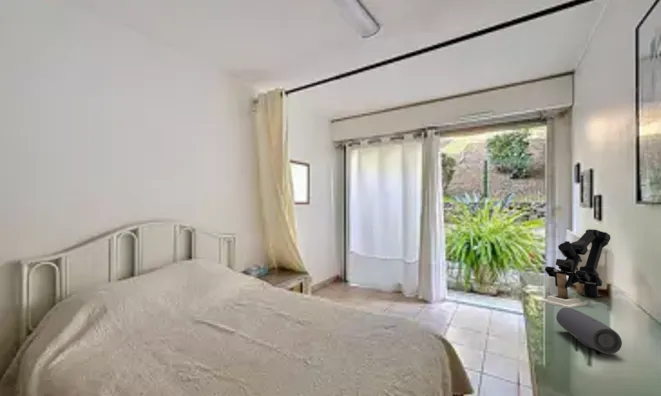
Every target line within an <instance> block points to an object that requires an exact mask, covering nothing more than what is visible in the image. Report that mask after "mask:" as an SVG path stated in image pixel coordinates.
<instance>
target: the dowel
mask: <svg viewBox="0 0 661 396" xmlns="http://www.w3.org/2000/svg"><path fill="white" fill-rule="evenodd" d="M567 280H568V277H567V276H566V274H563V273H557V286H558V298H561V299H565V300H566V299H568V296H569V295H568V293H569V292H568V288H565V284H566V282H567Z"/></svg>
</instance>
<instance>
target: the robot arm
mask: <svg viewBox="0 0 661 396" xmlns="http://www.w3.org/2000/svg"><path fill="white" fill-rule="evenodd" d="M610 241H611V235H610V234H609V233H608V232H606V231H600V230H598V229H591V228H589V229H588V228H587V229H586V230H585V233H584V234H582V235H581V237H579V238H578V240H576V241H572V242H570V240H569V241H567V240H566V241H564V242H562V243H559V245H557V247H558V248H557V249H558V250H559V251H560V253H561V254H562V256H563V257H565V259H561V258H556V261H555V266H558V269H557V268H556V267H555V266H548V265H547V266H546V267H545V268H544V271H545V273H546V274H547V276H551V277H555V285H556V287H557V273H563V274H566V277H567V276H568V277H567V282H566V284H565V288H567V289H568V288H569V287H571V286H573V285H574V284H577V283H579V284H580V285H582V284H583V290H584V291H583V293H581V296H584V295H586V297H590V298H595V299H596V298H599V297H602V296H603V295H601V294H599V289H598V287H602V286H603V280H602V279H601V278H600V276H599V275H600V274H599V272H598V270H597V269H598V265H599V261H600V258H601V256H602V252H603V249H604V248H605V247H606V246H607V245H608V244H609V242H610ZM590 244H591V247H590V249H589V253H588V246H589V245H590ZM587 253H588V256H587V259H586V263H585V265H583V266H580V267H579V268H578V266H579V263H582V262H583V260H582V258H581V256H585V255H586V254H587Z"/></svg>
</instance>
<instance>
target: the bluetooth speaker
mask: <svg viewBox="0 0 661 396" xmlns="http://www.w3.org/2000/svg"><path fill="white" fill-rule="evenodd" d="M556 321H557V323H558V324H559V326H560V327H562V328H563V329H564V330H565V331H567V332H568V333H569V334H570V335H571V336H572V337H574V338H575V340H576V339H577V340H576V341H578V342H579V343H580V344H582V345H583V344H584V346H585V347H586V348H588V347H589V348H588V349H590V348H592V349H591V350H593V349H595V351H598V352H600V353H602V354H605V355H613V354H616V353H617V352H619V351H620V350H621V348H622V345H623V341H622V338H621V335H620V334H619V333H618V332H617V331H615V330H614V329H612V328H611V327H610V326H608V325H607V324H605V323H603V322H601V321H599V320H598V319H595V318H594V317H592V316H590V315H588V314H586V313H584V312H582V311H581V310H580V311H579V310H578V309H576V308H564V307H561V308H560V309H559V310H558V311H557V313H556Z"/></svg>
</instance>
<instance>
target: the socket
mask: <svg viewBox="0 0 661 396" xmlns="http://www.w3.org/2000/svg"><path fill="white" fill-rule="evenodd" d="M540 302H541V303H544V302H545V304H548V305H553V306H556V307H560V308H572V309H576V308H580V307H585V306H588V302H585V301H581V298H579V297H574V296H570V295H568V299H566V300H565V299H561V298H558V294H556V295H551V294H550V295H546V298H542V299H540Z"/></svg>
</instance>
